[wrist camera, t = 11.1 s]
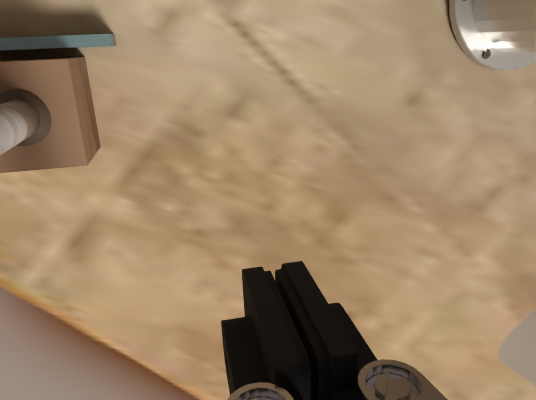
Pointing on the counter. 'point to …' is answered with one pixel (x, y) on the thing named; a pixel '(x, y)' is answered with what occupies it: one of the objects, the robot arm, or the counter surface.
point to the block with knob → (46, 114)
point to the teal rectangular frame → (57, 41)
